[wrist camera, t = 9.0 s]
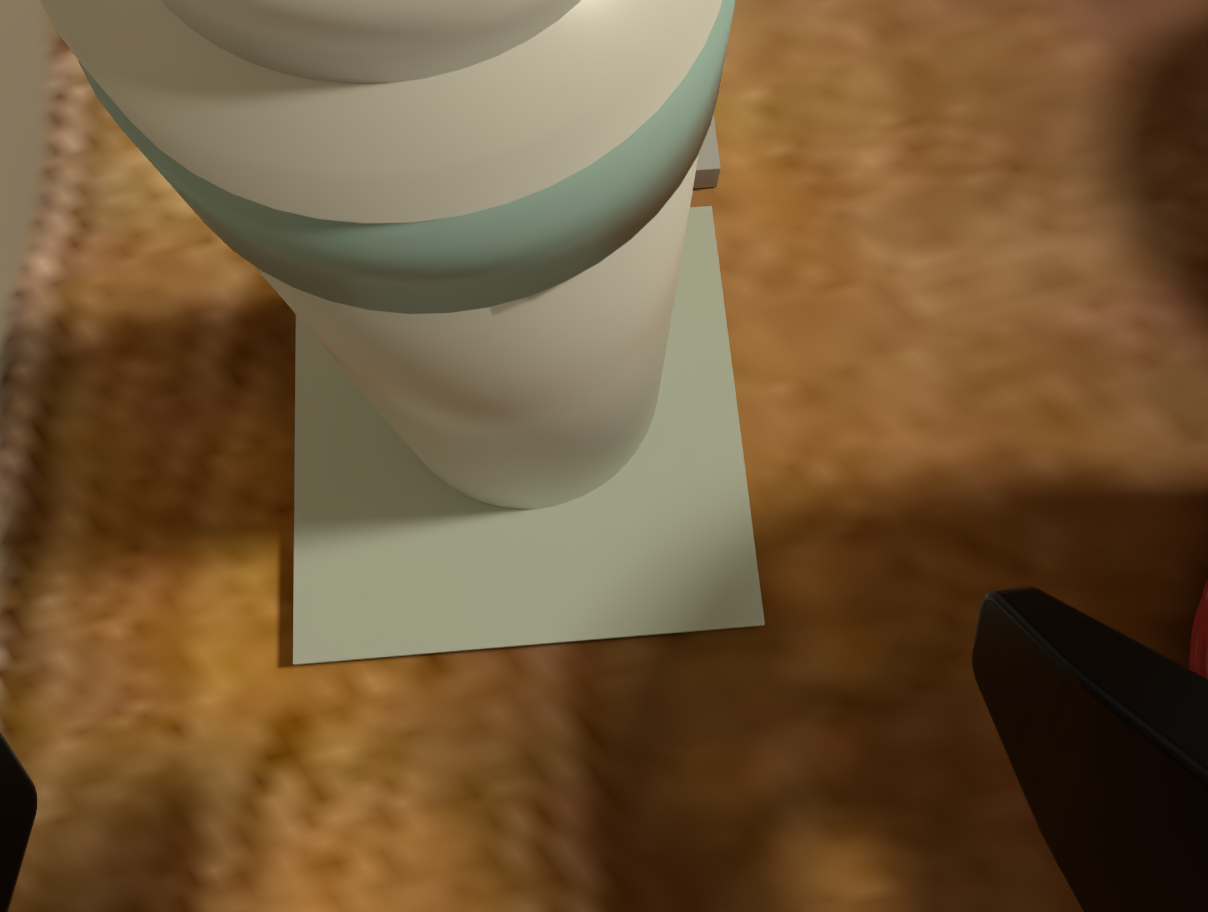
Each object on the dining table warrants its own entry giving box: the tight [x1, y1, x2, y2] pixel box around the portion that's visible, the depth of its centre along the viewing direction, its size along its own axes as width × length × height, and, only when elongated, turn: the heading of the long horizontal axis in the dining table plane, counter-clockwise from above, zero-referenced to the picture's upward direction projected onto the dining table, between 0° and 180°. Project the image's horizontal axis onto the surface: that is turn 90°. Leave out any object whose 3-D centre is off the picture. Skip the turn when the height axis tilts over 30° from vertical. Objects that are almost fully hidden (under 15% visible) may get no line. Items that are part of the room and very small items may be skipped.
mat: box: [293, 206, 765, 665], centre depth 20 cm, size 10×10×1 cm
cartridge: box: [41, 0, 735, 509], centre depth 13 cm, size 6×6×14 cm
